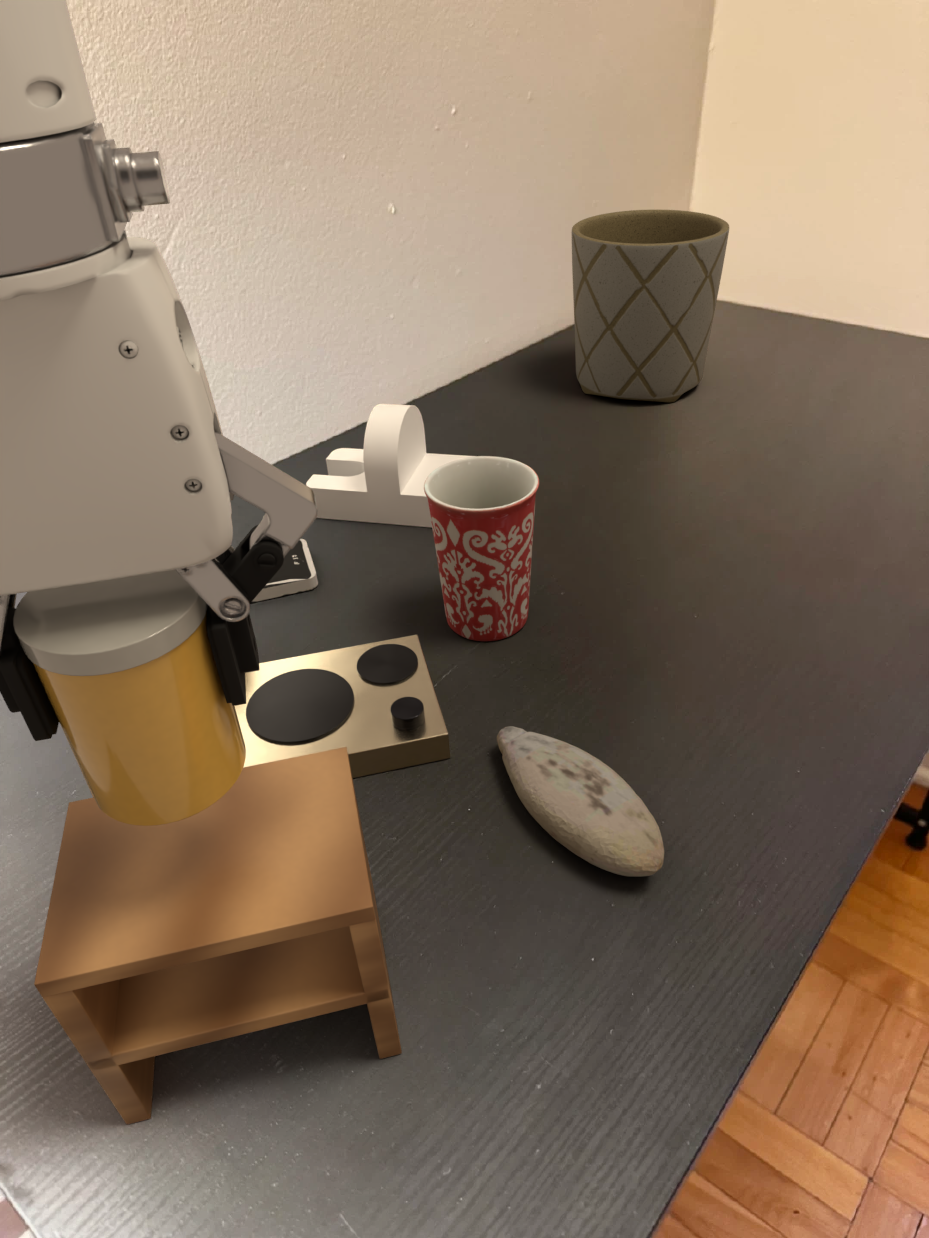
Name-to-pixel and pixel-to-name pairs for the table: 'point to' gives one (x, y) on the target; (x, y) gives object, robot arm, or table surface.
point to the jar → (136, 693)
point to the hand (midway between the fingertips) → (145, 696)
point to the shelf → (214, 924)
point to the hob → (346, 707)
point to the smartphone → (292, 574)
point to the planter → (645, 300)
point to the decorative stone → (582, 803)
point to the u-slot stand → (381, 472)
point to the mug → (483, 543)
